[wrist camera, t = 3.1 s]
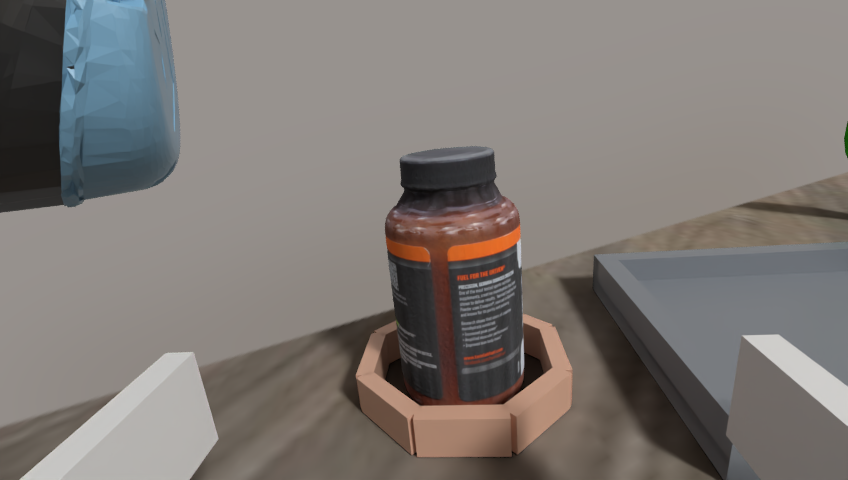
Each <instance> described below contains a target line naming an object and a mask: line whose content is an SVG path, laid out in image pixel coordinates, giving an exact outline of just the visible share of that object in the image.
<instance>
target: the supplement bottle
mask: <svg viewBox="0 0 848 480" xmlns="http://www.w3.org/2000/svg"><path fill="white" fill-rule="evenodd" d="M400 168H401V186H402V187H403V188H404V193H403V195H402V196H401V198H400V200H399V202H398V203H397V205H396V206H395V207H393V209H392V210H391V211H390V212H389V214H388V216H387V218H386V223H385V234H386V243H387V249H388V260H389V270H390V277H391V284H392V292H393V301H394V308H395V316H396V325H397V334H398V340H399V349H400V356H401V365H402V371H403V376H404V382H405V386H406V389H407V391H408V392H409V394H410V396H411V397H412V398H413V399H414V400H415V401H416V402H417V403H419V404H420V405H421V406H442V405H503V404H505V403H506V402H507V401H509V400H510V399H511V398H513V397H514V396H515V395H516V394H517V393H518V392H519V390H520V388H521V385H522V383H523V378H524V340H523V306H522V268H521V237H520V219H519V213H518V210H517V208H516V206H515V205H514V204H513V203H512V202H511V201H510V200H509V199H508V198H506V197H504V196H502V195H501V194H500V192H499V190H498V188H497V186H496V185H495V183H494V179H495V178H496V172H495V162H494V151H493V150H492V149H491V148H488V147H477V146H470V147H456V148H455V147H454V148H443V149H434V150H427V151H421V152H416V153H411V154H408V155H405V156H403V157H401V159H400Z"/></svg>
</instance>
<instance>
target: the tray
mask: <svg viewBox="0 0 848 480" xmlns="http://www.w3.org/2000/svg"><path fill="white" fill-rule="evenodd" d="M593 290H594V291H595V293H596V294H597V295H598V297H599V298H600V300H601V301H602V303H603V304H604V306H605V307H606V309H607V310H608V312H609V313H610V315H611V316H612V317H613V319H614V320H615V322H616V323H617V325H618V326H619V328H620V329H621V331H622V332H623V334H624V335H625V336H626V338H627V339H628V341H629V342H630V344H631V345H632V347H633V348H634V350H635V351H636V353H637V354H638V355H639V357H640V358H641V360H642V361H643V363H644V364H645V366H646V367H647V369H648V370H649V372H650V373H651V375H652V376H653V377H654V379H655V380H656V382H657V383H658V385H659V386H660V388H661V389H662V391H663V392H664V394H665V395H666V396H667V398H668V399H669V401H670V402H671V404H672V405H673V407H674V408H675V410H676V411H677V413H678V414H679V415H680V417H681V418H682V420H683V421H684V423H685V424H686V426H687V427H688V429H689V430H690V432H691V433H692V435H693V436H694V437H695V439H696V440H697V442H698V443H699V445H700V446H701V448H702V449H703V451H704V452H705V454H706V455H707V456H708V458H709V459H710V461H711V462H712V464H713V465H714V467H715V468H716V470H717V471H718V473H719V474H720V475H721V477H722V478H723V480H761V479H760V478H759V477H758V476H757V474H756V473H755V472H754V470H753V469H752V468H751V467H750V465H749V464H748V463H747V461H746V460H745V459H744V458H743V456H742V455H741V454H740V452H739V451H738V450H737V449H736V447H735V446H734V445H733V443H732V442H731V441H730V440H729V438H728V437H727V436H726V431H727V425H728V419H729V412H730V406H731V400H732V393H733V387H734V381H735V374H736V368H737V362H738V355H739V349H740V343H741V336H742V335H775V334H779V335H780V336H781V337H783V338H784V339H785V340H787V341H788V342H789V343H791V344H792V345H793V346H795V347H796V348H797V349H799V350H800V351H801V352H803V353H804V354H805V355H807V356H808V357H809V358H810V359H812V360H813V361H814V362H816V363H817V364H818V365H820V366H821V367H822V368H824V369H825V370H826V371H828V372H829V373H830V374H832V375H833V376H834V377H836V378H837V379H838V380H840V381H841V382H842V383H844V384H845V385H846V386H848V242H835V243H815V244H796V245H776V246H756V247H737V248H717V249H697V250H677V251H658V252H638V253H618V254H599V255H594V267H593Z"/></svg>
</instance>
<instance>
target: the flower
mask: <svg viewBox="0 0 848 480" xmlns="http://www.w3.org/2000/svg"><path fill="white" fill-rule="evenodd" d="M844 142H845V153H846V155H847V158H848V123H847V127H846V132H845V137H844Z"/></svg>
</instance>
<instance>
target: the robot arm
mask: <svg viewBox="0 0 848 480" xmlns="http://www.w3.org/2000/svg"><path fill="white" fill-rule="evenodd" d="M179 152H180V121H179V106H178V96H177V86H176V76H175V67H174V59H173V51H172V44H171V37H170V30H169V23H168V16H167V9H166V3H165V0H0V213H1V212H10V211H18V210H26V209H34V208H41V207H50V206H58V205H64V206H66V205H67V207H75V206H77V205H79V204H82V203H83V201H84V200H86V199H91V198H97V197H103V196H109V195H115V194H121V193H127V192H133V191H138V190H144V189H148V188H150V187H153V186H156V185H158V184H159V183H161V182H163V181H164V179H166V178H167V177H168V176H169V175H170V174H171V173H172V172H173V170H174V168H175V166H176V164H177V161H178V158H179ZM726 436H727V437H728V438H729V440H730V441H731V442H732V443H733V445H734V446H735V447H736V449H737V450H738V451H739V452H740V454H741V455H742V456H743V458H744V459H745V460H746V461H747V463H748V464H749V465H750V467H751V468H752V469H753V470H754V472H755V473H756V474H757V476H758V477H759V478H760V479H761V480H848V386H846V385H845V384H844V383H842V382H841V381H840V380H838V379H837V378H836V377H834V376H833V375H832V374H830V373H829V372H828V371H826V370H825V369H824V368H822V367H821V366H820V365H818V364H817V363H816V362H814V361H813V360H812V359H810V358H809V357H808V356H807V355H805V354H804V353H803V352H801V351H800V350H799V349H797V348H796V347H795V346H793V345H792V344H791V343H789V342H788V341H787V340H785V339H784V338H783V337H781V336H780V335H779V334H775V335H742V336H741V343H740V349H739V355H738V362H737V368H736V374H735V381H734V387H733V393H732V400H731V406H730V412H729V419H728V425H727V431H726ZM217 440H218V435H217V432H216V428H215V425H214V421H213V418H212V414H211V411H210V407H209V404H208V400H207V397H206V394H205V390H204V387H203V383H202V380H201V376H200V373H199V369H198V366H197V362H196V359H195V355H194V352H182V353H181V352H180V353H166V354H164V355H163V356H162V357H161V358H159V359H158V360H157V361H156V362H155V363H154V364H153V365H151V366H150V367H149V368H148V369H147V370H146V371H144V372H143V373H142V374H141V375H140V376H139V377H138V378H136V379H135V380H134V381H133V382H132V383H131V384H129V385H128V386H127V387H126V388H125V389H124V390H122V391H121V392H120V393H119V394H118V395H117V396H116V397H114V398H113V399H112V400H111V401H110V402H109V403H107V404H106V405H105V406H104V407H103V408H102V409H101V410H99V411H98V412H97V413H96V414H95V415H94V416H92V417H91V418H90V419H89V420H88V421H87V422H86V423H84V424H83V425H82V426H81V427H80V428H79V429H77V430H76V431H75V432H74V433H73V434H72V435H71V436H69V437H68V438H67V439H66V440H65V441H64V442H62V443H61V444H60V445H59V446H58V447H57V448H56V449H54V450H53V451H52V452H51V453H50V454H49V455H47V456H46V457H45V458H44V459H43V460H42V461H41V462H39V463H38V464H37V465H36V466H35V467H34V468H32V469H31V470H30V471H29V472H28V473H27V474H26V475H24V476H23V477H22V478H21V479H20V480H190V478H191V477H192V475H193V474H194V473H195V471H196V470H197V468H198V467H199V466H200V464H201V463H202V461H203V460H204V459H205V457H206V456H207V454H208V453H209V452H210V450H211V449H212V447H213V446H214V445H215V443H216V442H217Z"/></svg>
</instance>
